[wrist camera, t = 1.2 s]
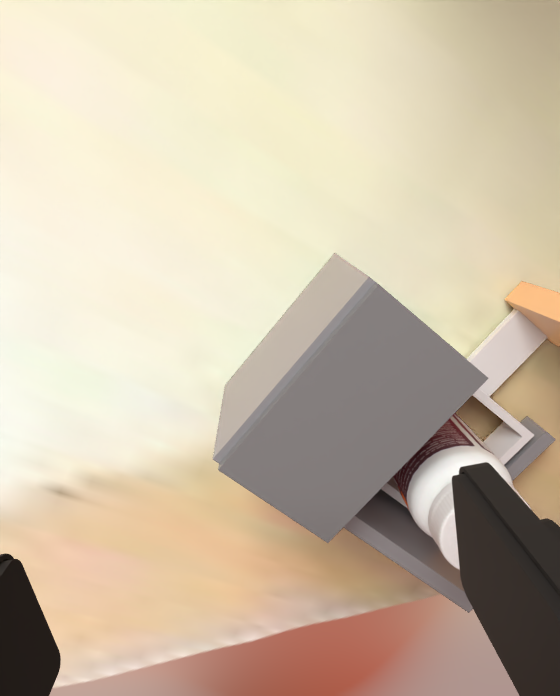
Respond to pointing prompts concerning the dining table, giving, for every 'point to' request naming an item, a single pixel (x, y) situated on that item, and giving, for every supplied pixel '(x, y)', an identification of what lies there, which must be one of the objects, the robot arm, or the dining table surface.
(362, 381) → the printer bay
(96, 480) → the dining table surface
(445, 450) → the pill bottle
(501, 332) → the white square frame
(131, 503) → the dining table surface
